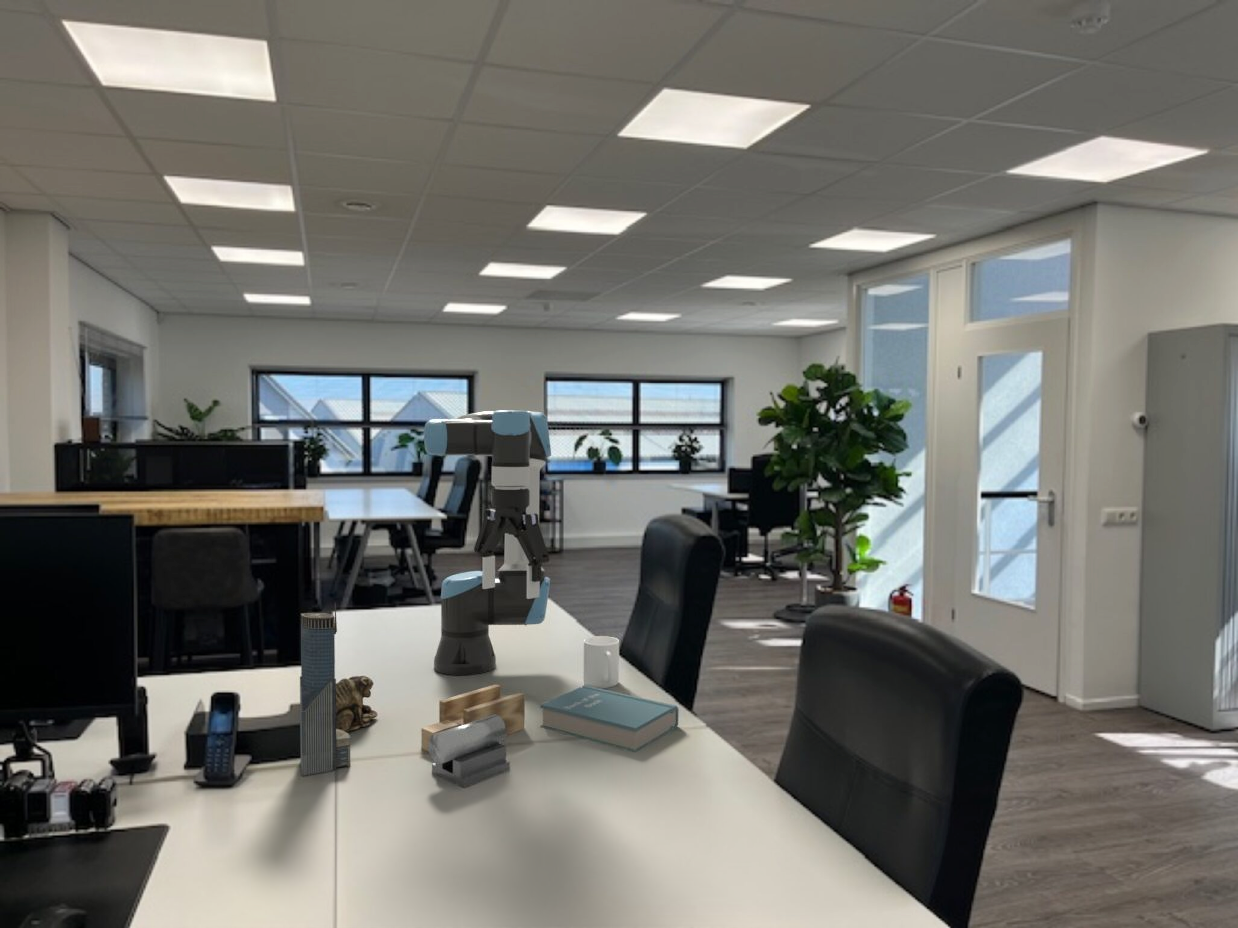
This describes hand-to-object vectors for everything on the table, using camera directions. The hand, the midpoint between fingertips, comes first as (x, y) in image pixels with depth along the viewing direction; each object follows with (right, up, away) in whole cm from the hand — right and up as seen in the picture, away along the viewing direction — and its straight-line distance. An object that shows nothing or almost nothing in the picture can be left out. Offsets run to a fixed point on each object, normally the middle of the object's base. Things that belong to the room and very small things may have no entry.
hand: (510, 592), depth 170 cm
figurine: (-32, -27, -2) cm, 42 cm away
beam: (-7, -27, -6) cm, 29 cm away
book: (+20, -28, 0) cm, 34 cm away
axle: (-4, -22, -23) cm, 32 cm away
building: (-31, -28, -21) cm, 46 cm away
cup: (+18, -26, +26) cm, 41 cm away
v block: (-4, -28, -22) cm, 36 cm away
